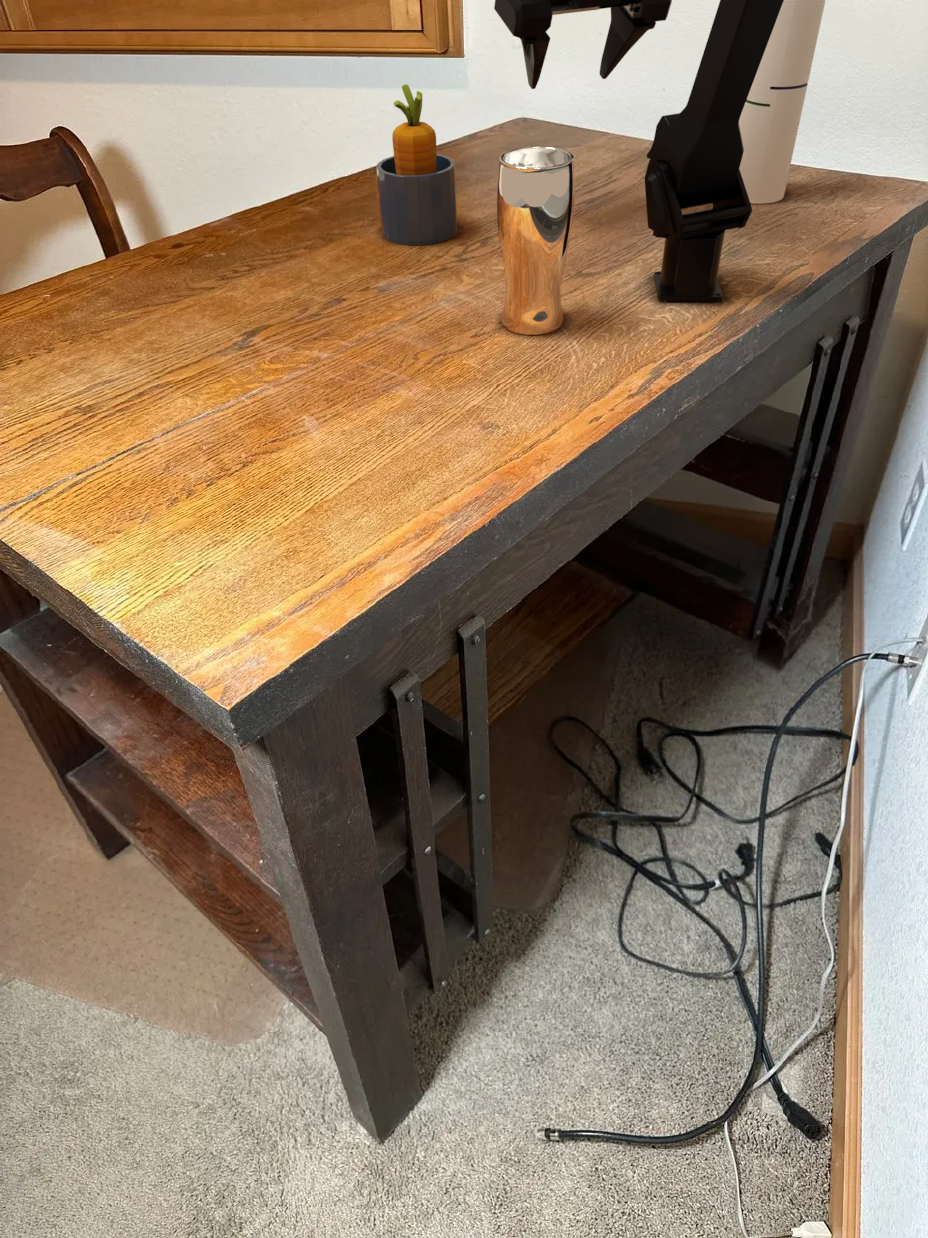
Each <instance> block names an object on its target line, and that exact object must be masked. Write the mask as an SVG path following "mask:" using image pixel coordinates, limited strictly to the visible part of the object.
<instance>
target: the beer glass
mask: <svg viewBox="0 0 928 1238" xmlns="http://www.w3.org/2000/svg"><path fill="white" fill-rule="evenodd" d="M498 158H499V162H498V178H497V194H496V197H497V198H496V215H497V216H496V222H497V230H498V231H497V232H498V239H499V245H500V251H501V257H502V263H503V270H504V276H505V296H504V297H505V298H504V304H503V308H502V313H501V314H502V315H501V323H502V326H503V327H504V328H505V329H506V330H508V331H510V332H512V333H515V334H519V335H525V336H538V335H545V334H549V333H552V332H555V331H557V330H558V329H559V328H561V327H562V325H563V323H564V313H563V306H562V298H561V297H562V294H561V293H562V292H561V291H562V290H561V289H562V288H561V287H562V286H561V285H562V277H563V272H564V266H565V262H566V258H567V254H568V248H569V246H570V245H569V244H570V240H571V235H572V228H573V223H574V211H575V155H574V154H573V153H572V152H571V151H569V150H566V149H563V148H560V147H554V146H546V145H545V146H543V145H541V146H540V145H538V146H537V145H534V146H533V145H531V146H522V147H515V148H512V149H509V150H507V151H504V152H503V153H501V154H500V156H499V157H498Z"/></svg>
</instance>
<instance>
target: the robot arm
mask: <svg viewBox="0 0 928 1238" xmlns="http://www.w3.org/2000/svg"><path fill="white" fill-rule="evenodd" d="M783 1H784V0H719V3H718V6H717V9H716V12H715V15H714V19H713V21H712V25H711V27H710V32H709V34H708V37H707V41H706V44H705V47H704V49H703V53H702V57H701V59H700V62H699V66H698V68H697V72H696V76H695V78H694V81H693V85H692V88H691V90H690V94H689V97H688V100H687V103H686V105H685V107H684V108H683V109H682V110H681V111H680V112H678V113H672V114H665V115H662V116H661V117H660V118H659V121H658V122H657V124H656V126H655V131H654V137H653V141H652V145H651V146H650V149H649V150H648V152H647V154H646V158H647V159H648V164H647V167H646V171H645V174H644V175H645V176H644V189H645V204H646V216H647V217H646V219H647V227H648V229H650V230H651V231H652V236H653V237H654V238H659V239H661V238H662V239H664V247H663V253H662V262H661V269H660V271H654V272H653V283H654V287H655V292H656V296H657V299H658V300H659V301H663V302H664V301H669V302H670V301H672V302H673V301H677V302H678V301H680V302H681V301H687V302H689V301H692V302H693V301H694V302H695V301H697V302H699V301H700V302H702V301H703V302H706V301H708V302H712V301H713V302H718V301H719V302H720V301H723V298H724V293H723V290H722V288H721V285H720V281H719V279H718V274H719V268H720V263H721V258H722V252H723V245H724V240H725V234H726V231H729V230H735V229H743V228H745V227H746V226H747V223H748V220H749V218H750V216H751V214H752V212H753V207H752V203H750V200H749V197H748V194H747V191H746V188H745V185H744V182H743V179H742V176H741V173H740V170H739V168H740V164H741V160H742V156H743V153H744V148H743V142H742V137H741V132H740V127H739V119H740V116H741V113H742V110H743V108H744V105H745V102H746V100H747V97H748V94H749V92H750V89H751V86H752V84H753V81H754V78H755V76H756V73H757V70H758V68H759V65H760V62H761V60H762V57H763V54H764V52H765V49H766V46H767V44H768V41H769V38H770V36H771V33H772V31H773V28H774V25H775V23H776V20H777V17H778V15H779V12H780V9H781V7H782V4H783ZM672 2H673V0H494V7H493V8H494V10H495V12H496V13H497V15H498V17H499V18H500V19H501V21H502V22H503V24H504V26H505V27H506V28H507V29H508V30H509V32H510V33H511V35H512V36H513V37H516V38H518V39H520V41H521V45H522V50H523V51H522V53H523V59H524V65H525V70H526V77H527V84H528V86H529V87H530V89H531V90H536V88H537V86H538V83H539V81H540V78H541V75H542V70H543V67H544V63H545V61H546V60H545V59H546V56H547V53H548V49H549V45H550V42H551V37H550V35H549V33H548V31H549V29H550V28H551V27H552V22H553V21H552V20H553V16H556V15H562V14H572V13H581V12H590V11H599V10H602V9H603V10H605V9H610V23H609V27H608V31H607V36H606V39H605V44H604V47H603V52H602V55H601V59H600V67H599V76H600V77H601V79H602V80H605V79H607V78H608V77H609V76H610V75H611V73H612V72H613V71H614V69H616V67H617V66H618V65H619V64H620V63H621V61H622V60H623V59H624V57H625V56H626V55H627V54H628V52H629V51H631V49H632V48H633V47H634V46H635V45H636V44H637V43H638V41H640V39H641V38H642V37H643V36H644V35H645V34H646V33H647V32H648V31H650V30H653V29H655V27H656V25H657V22H663V21H666V20H667V18H668V16H669V13H670V9H671V6H672ZM706 205H712V208H707V209H703V210H697V211H693V212H688V213H687V212H686V213H683V212H682V210H686V209H692V208H696V207H701V206H706Z"/></svg>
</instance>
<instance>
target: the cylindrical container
mask: <svg viewBox="0 0 928 1238" xmlns="http://www.w3.org/2000/svg"><path fill="white" fill-rule="evenodd" d="M825 5H826V0H784V1H783V4H782V7H781V9H780V12H779V15H778V17H777V20H776V23H775V25H774V28H773V31H772V33H771V36H770V38H769V41H768V44H767V46H766V49H765V52H764V54H763V57H762V60H761V62H760V65H759V68H758V70H757V73H756V76H755V78H754V81H753V84H752V86H751V89H750V92H749V94H748V97H747V100H746V102H745V105H744V108H743V110H742V113H741V116H740V119H739V127H740V132H741V137H742V142H743V148H744V153H743V156H742V160H741V164H740V168H739V170H740V173H741V176H742V179H743V182H744V185H745V188H746V191H747V194H748V197H749V200H750V203H751V204H757V205H758V204H760V205H762V204H772V203H777V202H779V201H781V200H783V199H784V197H785V193H786V188H787V184H788V178H789V174H790V169H791V164H792V160H793V154H794V150H795V145H796V142H797V141H796V140H797V135H798V132H799V127H800V123H801V117H802V113H803V109H804V108H803V107H804V104H805V98H806V94H807V89H808V83H809V81H810V75H811V71H812V66H813V60H814V57H815V51H816V46H817V43H818V38H819V32H820V28H821V23H822V19H823V14H824V9H825Z"/></svg>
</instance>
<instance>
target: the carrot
mask: <svg viewBox="0 0 928 1238" xmlns="http://www.w3.org/2000/svg"><path fill="white" fill-rule="evenodd" d="M401 89H402V92H403V95H404V98H405V100H406V103H407V105H406V104H405V103H404V102H401V100H397V99H396V100H394V102H393V106H394V107H395V108H396V109H399V110H400V111H401V112H403V115H404V116H405V118H406V121H407V122H403V123H401V124H399V125H398V126H396V127H395V128H394V130H393V131H392V137H391V139H392V149H393V156H394V159H395V167H396V174H398V175H425V174H431V173H436V154H437V134H436V130H435V129H434V128H433V127H432V126H431V125H430V124H428V123H427V122H425V121H420V120H421V114H422V110H423V93H422V92H421V91H420V90H417V91H416V96H415V97H414V96H413V93H412V91H411V88H410V86H409V84H402V86H401Z"/></svg>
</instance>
